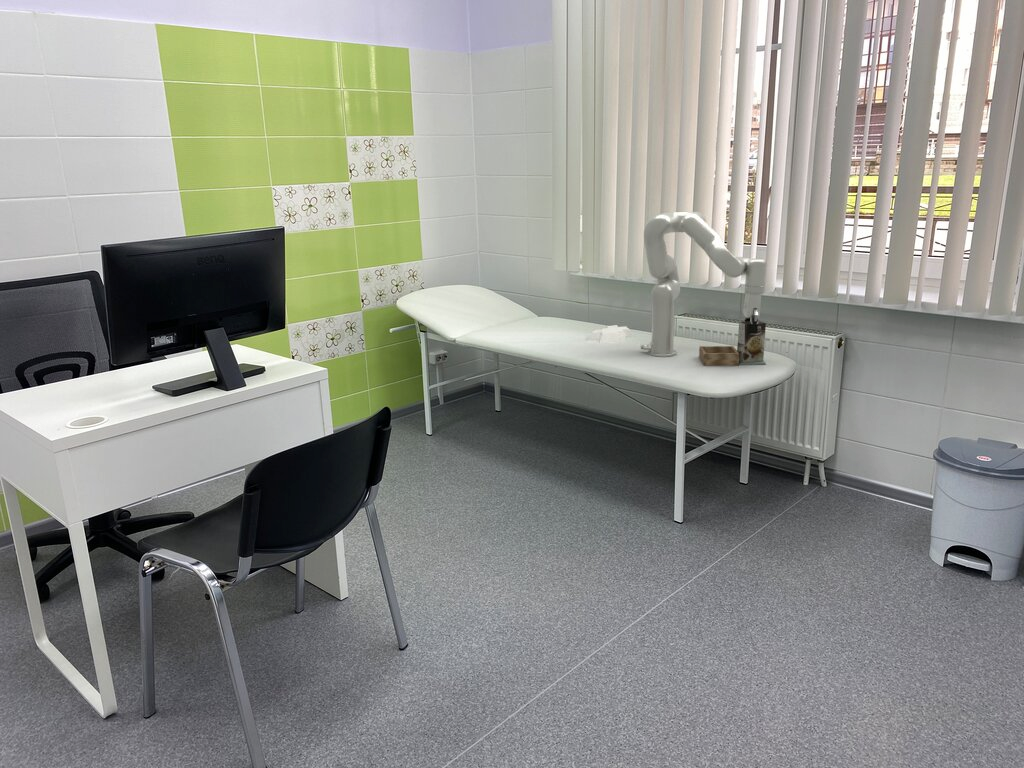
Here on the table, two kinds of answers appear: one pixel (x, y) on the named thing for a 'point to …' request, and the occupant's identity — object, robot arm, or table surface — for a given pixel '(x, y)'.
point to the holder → (718, 356)
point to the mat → (752, 363)
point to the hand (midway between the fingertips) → (750, 330)
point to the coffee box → (751, 342)
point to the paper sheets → (610, 334)
